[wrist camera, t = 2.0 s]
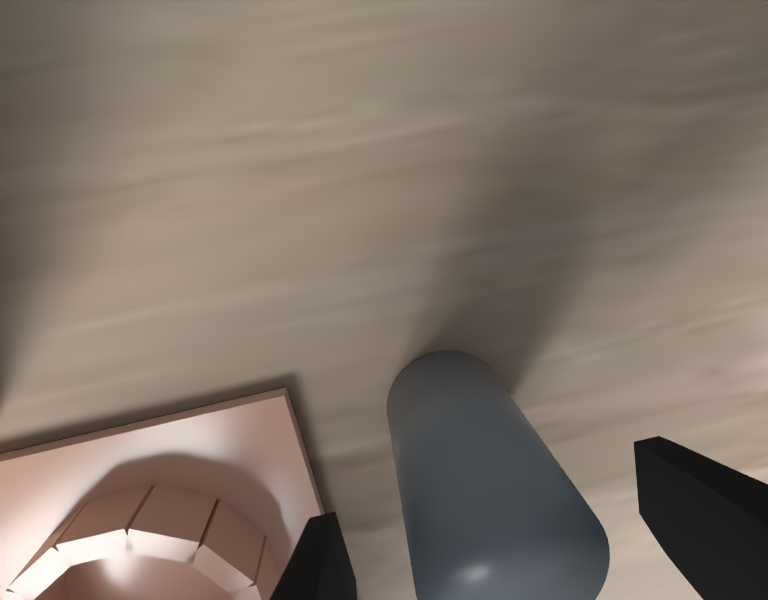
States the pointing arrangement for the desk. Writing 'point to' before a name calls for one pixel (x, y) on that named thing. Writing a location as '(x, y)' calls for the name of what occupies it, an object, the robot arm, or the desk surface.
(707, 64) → the desk surface
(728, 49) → the desk surface
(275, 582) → the tube holder
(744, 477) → the robot arm
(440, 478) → the tube
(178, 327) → the desk surface
